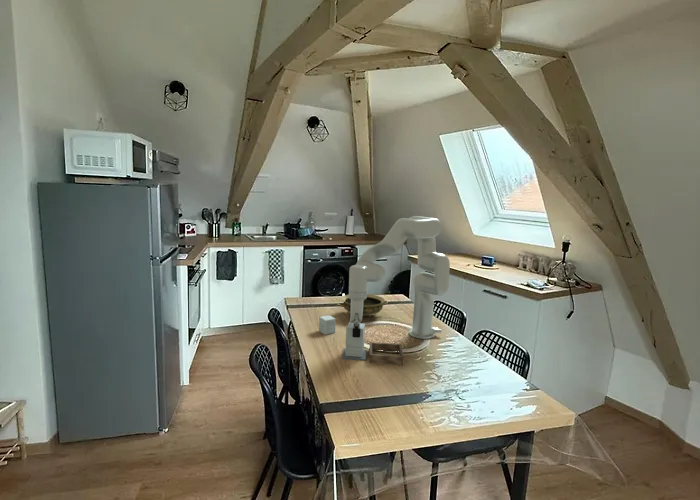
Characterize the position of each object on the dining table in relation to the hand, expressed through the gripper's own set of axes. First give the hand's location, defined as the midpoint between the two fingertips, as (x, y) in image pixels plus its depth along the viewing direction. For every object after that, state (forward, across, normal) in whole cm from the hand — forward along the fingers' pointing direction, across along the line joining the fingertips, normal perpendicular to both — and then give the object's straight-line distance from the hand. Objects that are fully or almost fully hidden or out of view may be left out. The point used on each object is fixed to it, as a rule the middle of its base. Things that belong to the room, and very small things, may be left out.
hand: (356, 332), depth 180 cm
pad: (+10, +1, -1) cm, 10 cm away
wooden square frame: (+10, +1, +13) cm, 16 cm away
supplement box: (+10, 0, -1) cm, 10 cm away
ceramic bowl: (+11, -53, +2) cm, 55 cm away
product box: (+10, -25, -15) cm, 31 cm away
